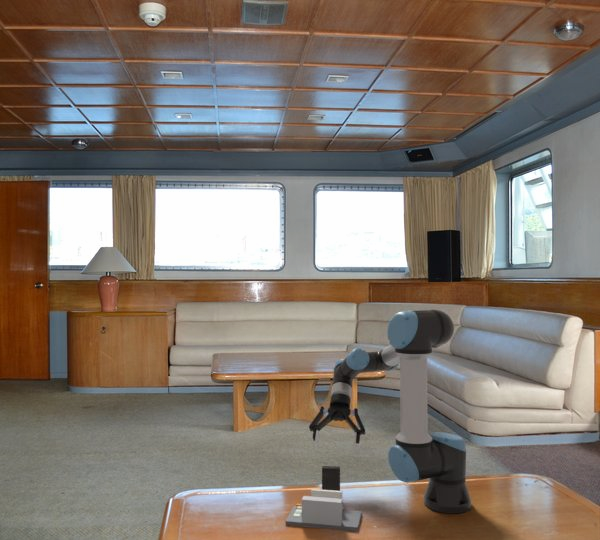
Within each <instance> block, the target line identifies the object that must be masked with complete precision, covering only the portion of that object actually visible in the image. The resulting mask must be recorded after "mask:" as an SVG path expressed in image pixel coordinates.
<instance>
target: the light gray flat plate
mask: <svg viewBox="0 0 600 540" xmlns="http://www.w3.org/2000/svg"><path fill="white" fill-rule="evenodd" d="M310 496H312V497H324V498H337V499H342V500H343V491H342V490H340V491H334V490H322V488H321V489H319V488H311V489H310ZM295 506H299V507H302V503H295Z"/></svg>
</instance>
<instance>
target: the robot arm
mask: <svg viewBox="0 0 600 540" xmlns="http://www.w3.org/2000/svg"><path fill="white" fill-rule="evenodd" d="M386 332H387V333H386V334H387V339H388V341H389V345H388V346H386V347H384V348H383V349H380V350H378V351H377V350H375V351H366V349H362V348H359V347H358V348H353V349H352V350H351V351H350V352H349V353H348V354H347V355H346V357H345V358H343V359H341V358H340V360H339V359H338V360H337V361H336V362H335V364H334V368H333V377H332V385H331V392H330V400H329V407H324V406H323V405H322V406H320V408H319V412H318V413H317V414H316V416H315V417H314V418H313V420H312V421H311V423H310V425H308V428H309V432H313V433H312V440H313V441H314V444H313V445H314V446H313V447H314V448H313V449H314V451H316V452H317V451H318V449H319V447H318V446H319V441H320V440H319V439H320V431H321V430H322V429H324V428H325V427H326V426H327V425H328V424H329V423H331V422H332V421H333V422H339V421H340V422H343V421H345V422H346V424H348V426H349V427H350V428H351V429H352V430H353V433H354V434H353V444H352V453H353V454H356V451H357V444H358V445H359V444H360V443H361V442H360V441H361V436H362V435H366V428H365V425H364V424H363V422H362V419H361V418H360V415H359V412H358V411H359V410H358V408H357V407H355V408H354V409H351V399H352V389H353V381H354V380H355V378H356V377H358V375H359V374H365V373H374V372H382V371H386V372H389V371H393V370H397V368H398V366H399V384H400V386H399V392H400V393H399V395H400V398H399V402H400V403H399V411H400V413H399V414H400V415H399V417H400V418H399V420H400V422H399V423H400V431H399V432H398V434H397V435H396V436H395V444H394V445H392V446H391V447H389V450H388V453H387V455H388V456H387V460H388V463H389V466H390V469H391V471H392V473H393V474H394V476H395V478H396V479H398V480H399V481H401V482H403V483H411V482H413V483H416V482H419V481H422V480H427V479H429V480H428V483H427V486H426V490H425V492H424V495H423V503H424V505H425V506H426V508H428V509H431V510H432V511H434V512H437V513H438V512H439V513H442V514H443V513H444V514H461V513H462V514H463V513H466V512H468V511H469V510H470V509H471V508H472V500H471V499H472V498H471V495H470V493H469V489H468V487H467V482H466V479H467V476H466V471H467V469H466V467H467V466H466V465H467V464H466V462H467V450H466V441H465V439H464V438H463V437H461V436H459V435H456V434H453V433H448V432H441V431H435V432H434V431H433V432H430V434H429V432H428V431H429V429H428V425H429V424H428V358H429V357H430V356H431V355H432V354H433V349H436V348H437V349H438V348H439V347H441V346H443V345H445V344H447V343H448V342H449V341H450V340H451V339H452V337H454V336H453V335H454V332H455V326H454V322H453V320H452V319H451V317H450V316H449V314H447V313H446V312H444V311H442V310H439V309H425V310H424V309H423V310H422V309H421V310H420V309H419V310H411V309H410V310H404V311H398V312H397V313H395V314H394V315H393V316H392V318H390V320H389V323H388V326H387V331H386ZM327 413H328V414H327ZM326 414H327V415H326ZM325 415H326V417H324V416H325ZM350 415H352V416H353V417H354V419H355V420H356V423H357V425H358V426H357V425H356V424H355V423H354V421H353V420H352V419H351V418H350ZM323 417H324V418H323ZM322 418H323V419H322Z"/></svg>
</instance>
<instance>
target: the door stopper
mask: <svg viewBox="0 0 600 540" xmlns="http://www.w3.org/2000/svg"><path fill="white" fill-rule="evenodd" d="M321 490H334V491H341V467H340V466H331V465H330V466H327V465H325V466H324V465H322V466H321Z"/></svg>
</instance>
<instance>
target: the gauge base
mask: <svg viewBox="0 0 600 540" xmlns="http://www.w3.org/2000/svg"><path fill="white" fill-rule="evenodd" d="M301 504H302V507H299V506H296V505H293V507H292V508H291V510H290V512H289V514H288V516H287V518H286V520H285V526H291V527H303V528H305V527H306V528H315V529H325V528H326V529H327V530H336V531H337V530H338V531H349V532H359V531H358V530H359V528H360V527H359V526H360V522H361V519H362V514H363V513H362V511H361V510H351V509H350V510H349V509H343V498H342V499H337V498H324V497H312V496H311V495H303V496H302V497H301ZM326 529H325V530H326Z"/></svg>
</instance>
